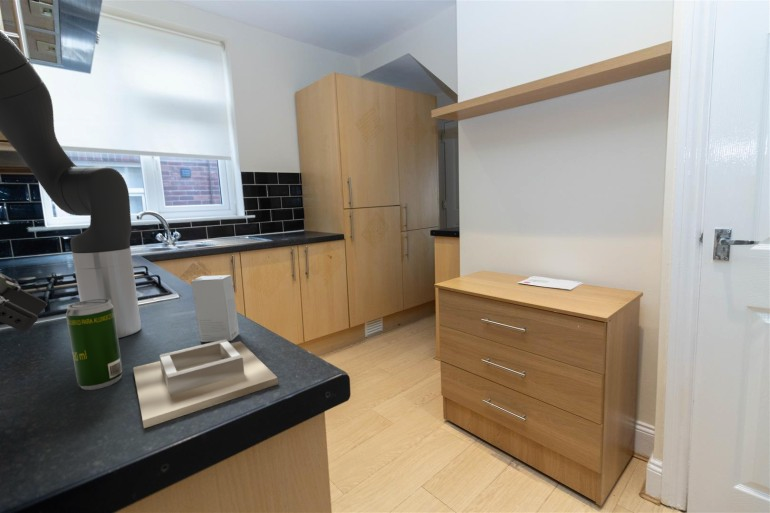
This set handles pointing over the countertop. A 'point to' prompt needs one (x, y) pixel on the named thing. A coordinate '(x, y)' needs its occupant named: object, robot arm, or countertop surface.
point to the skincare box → (215, 308)
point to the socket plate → (198, 380)
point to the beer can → (94, 343)
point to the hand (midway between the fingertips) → (37, 316)
